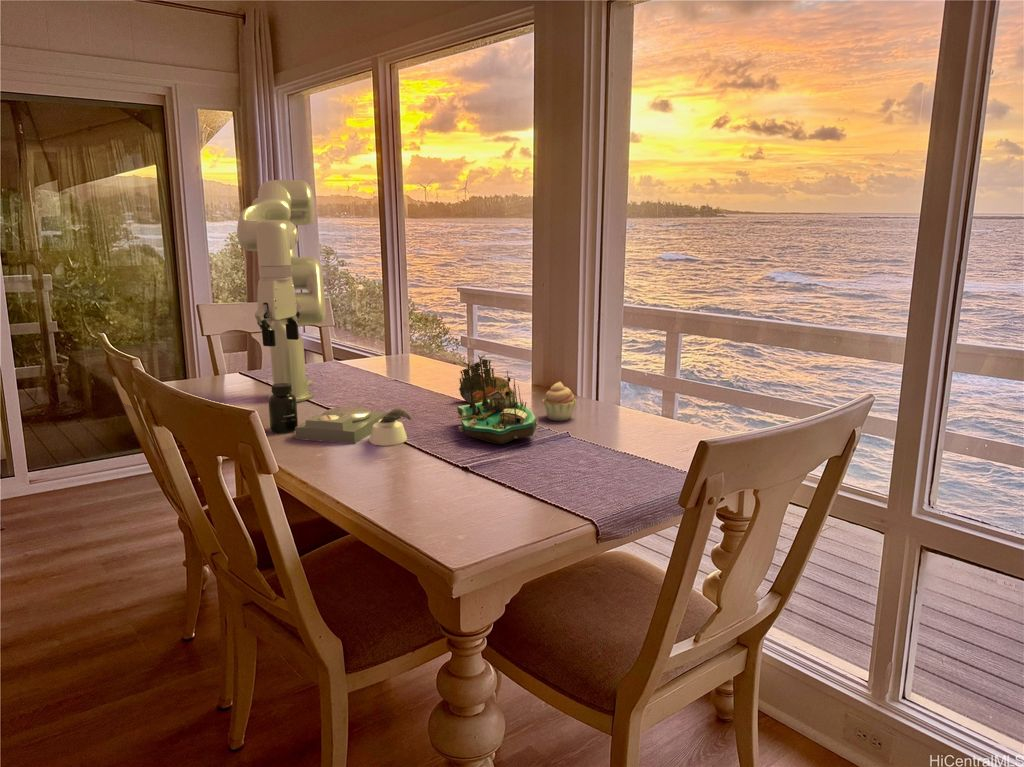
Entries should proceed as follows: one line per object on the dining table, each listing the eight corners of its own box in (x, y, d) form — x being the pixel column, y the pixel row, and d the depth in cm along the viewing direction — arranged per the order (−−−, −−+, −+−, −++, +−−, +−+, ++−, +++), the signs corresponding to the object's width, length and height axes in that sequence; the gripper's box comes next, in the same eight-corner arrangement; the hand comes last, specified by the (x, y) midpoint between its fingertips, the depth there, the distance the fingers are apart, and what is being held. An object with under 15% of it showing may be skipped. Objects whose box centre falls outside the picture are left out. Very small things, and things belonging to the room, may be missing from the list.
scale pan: (337, 408, 192) (337, 405, 192) (378, 411, 189) (378, 407, 189) (314, 420, 181) (313, 416, 181) (357, 424, 178) (357, 420, 178)
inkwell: (396, 432, 182) (394, 394, 180) (432, 450, 168) (431, 408, 165) (362, 439, 176) (360, 399, 174) (397, 458, 162) (395, 415, 160)
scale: (332, 419, 194) (331, 399, 193) (387, 423, 190) (386, 403, 189) (296, 438, 177) (294, 417, 176) (354, 443, 173) (353, 421, 172)
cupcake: (583, 417, 194) (584, 381, 191) (561, 424, 187) (562, 387, 185) (557, 411, 200) (557, 376, 198) (534, 418, 193) (534, 382, 191)
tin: (459, 402, 211) (459, 374, 209) (464, 400, 213) (463, 372, 212) (507, 407, 205) (507, 378, 203) (511, 404, 208) (511, 376, 206)
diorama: (504, 414, 195) (497, 346, 190) (553, 439, 174) (546, 363, 168) (440, 431, 187) (431, 360, 182) (483, 460, 166) (474, 380, 160)
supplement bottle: (290, 434, 181) (286, 388, 178) (265, 433, 182) (261, 387, 179) (303, 427, 187) (299, 382, 184) (279, 425, 189) (275, 381, 186)
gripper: (283, 270, 184) (288, 336, 188) (239, 275, 167) (246, 348, 171) (309, 270, 181) (313, 337, 185) (267, 276, 165) (273, 349, 169)
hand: (281, 342), depth 178 cm, fingers open, 9 cm apart
